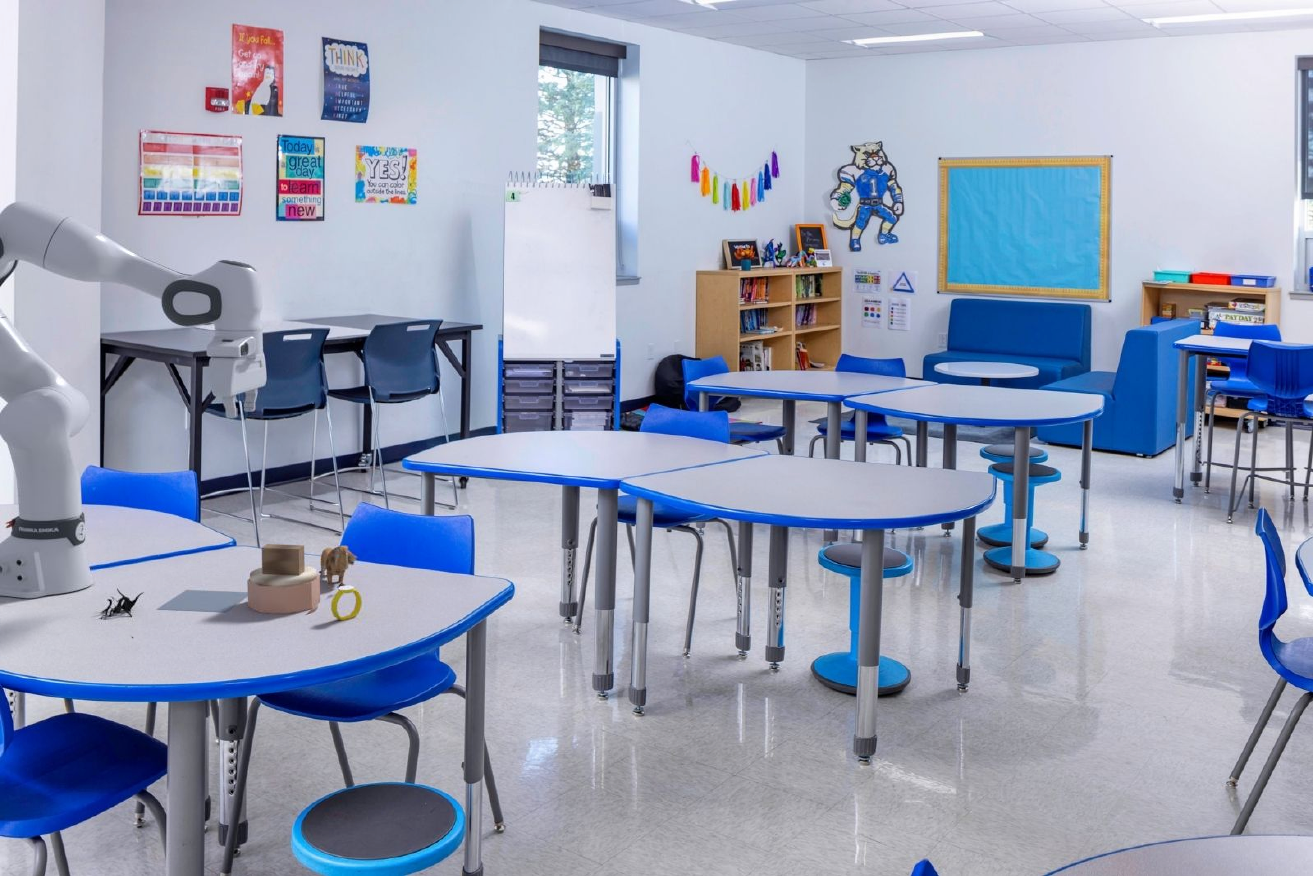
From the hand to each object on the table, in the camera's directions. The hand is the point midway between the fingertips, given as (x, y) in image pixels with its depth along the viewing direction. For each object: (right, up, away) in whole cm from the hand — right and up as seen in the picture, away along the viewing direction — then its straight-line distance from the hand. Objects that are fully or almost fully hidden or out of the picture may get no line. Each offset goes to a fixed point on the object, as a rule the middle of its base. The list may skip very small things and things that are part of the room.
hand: (240, 414), depth 245 cm
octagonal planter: (+12, -37, -12) cm, 41 cm away
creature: (-15, -38, -21) cm, 46 cm away
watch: (+25, -38, -17) cm, 48 cm away
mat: (-3, -36, -11) cm, 38 cm away
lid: (+12, -31, -13) cm, 36 cm away
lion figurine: (+17, -34, +6) cm, 39 cm away
